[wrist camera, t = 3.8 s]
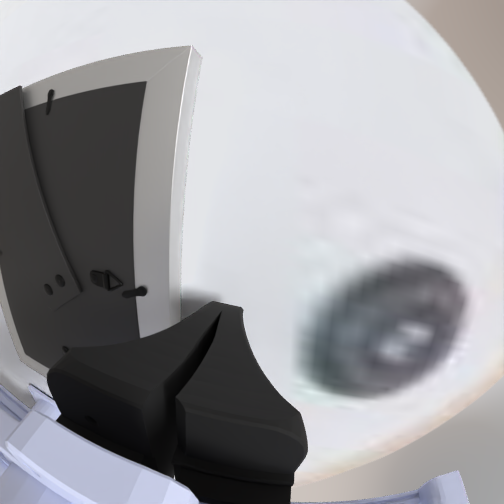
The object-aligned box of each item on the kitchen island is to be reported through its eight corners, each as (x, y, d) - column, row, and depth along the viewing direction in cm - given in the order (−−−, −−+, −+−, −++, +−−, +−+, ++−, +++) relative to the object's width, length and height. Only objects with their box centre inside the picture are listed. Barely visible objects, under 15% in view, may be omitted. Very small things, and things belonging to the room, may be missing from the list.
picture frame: (11, 105, 11) (33, 349, 17) (-16, 103, 8) (16, 365, 14) (206, 62, 10) (188, 412, 16) (186, 37, 7) (177, 442, 13)
